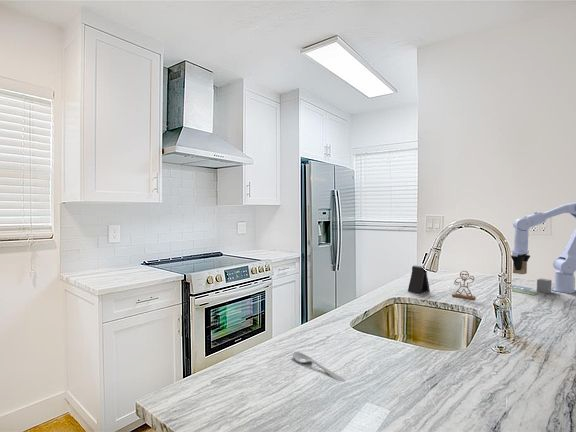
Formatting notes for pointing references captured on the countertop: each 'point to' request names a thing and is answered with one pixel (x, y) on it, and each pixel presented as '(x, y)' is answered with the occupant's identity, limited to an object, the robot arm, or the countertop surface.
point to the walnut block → (523, 268)
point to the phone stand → (418, 280)
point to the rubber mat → (524, 292)
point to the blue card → (521, 288)
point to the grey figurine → (464, 289)
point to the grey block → (544, 285)
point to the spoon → (299, 356)
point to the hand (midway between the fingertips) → (520, 269)
